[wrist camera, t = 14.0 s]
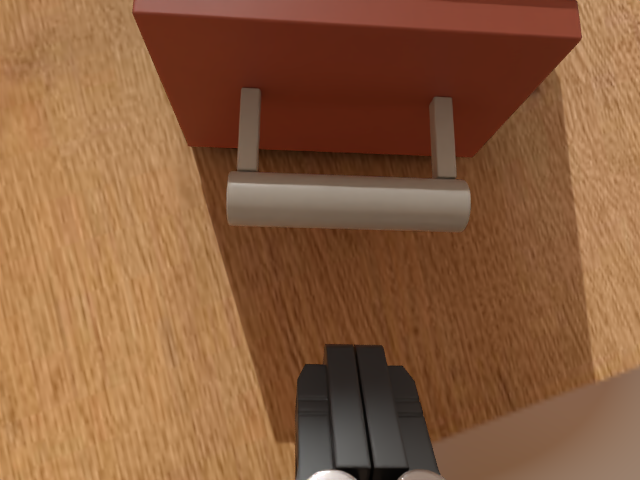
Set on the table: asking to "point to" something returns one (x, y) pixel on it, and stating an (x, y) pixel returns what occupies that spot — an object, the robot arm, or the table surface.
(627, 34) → the table surface
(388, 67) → the drawer
